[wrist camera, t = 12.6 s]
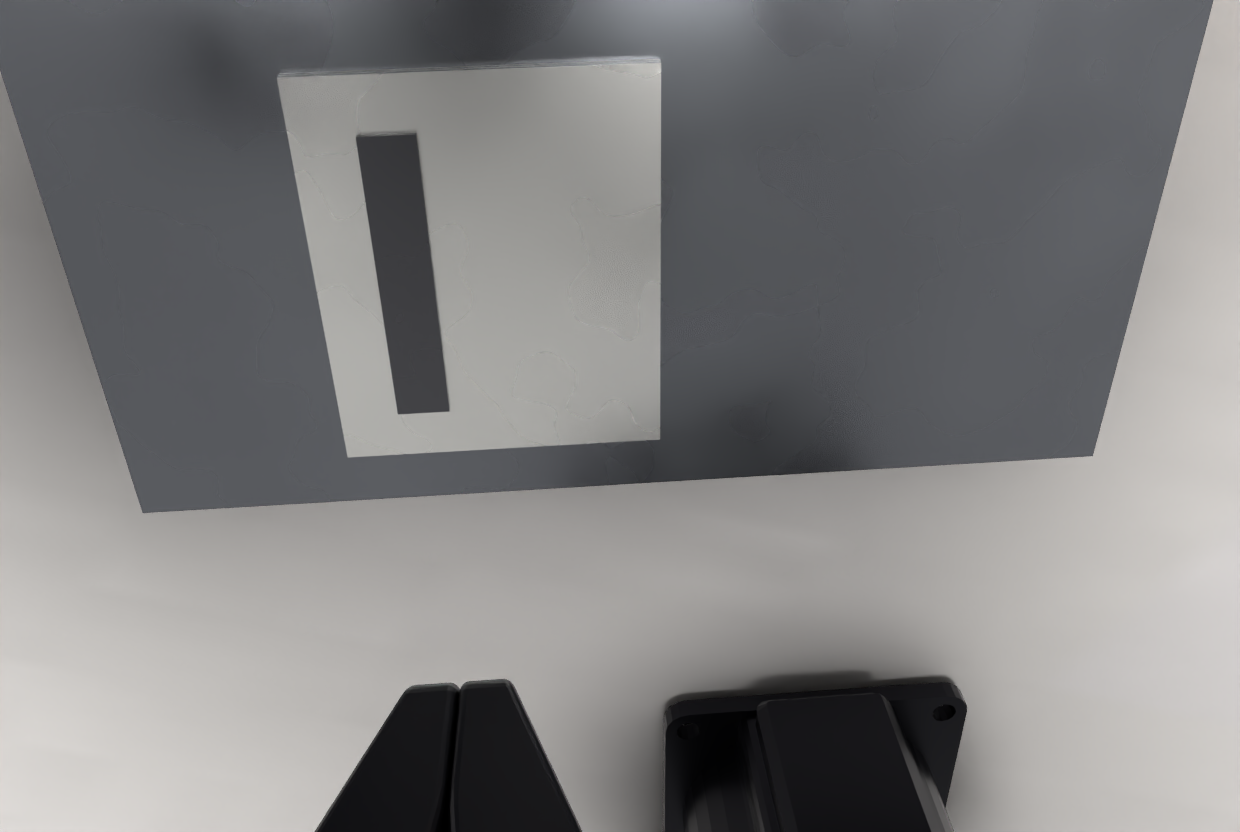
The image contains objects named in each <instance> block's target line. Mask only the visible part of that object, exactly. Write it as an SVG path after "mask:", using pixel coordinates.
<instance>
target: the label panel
mask: <svg viewBox="0 0 1240 832" xmlns="http://www.w3.org/2000/svg"><path fill="white" fill-rule="evenodd" d="M1212 4H1213V0H0V71H1V74H2V77H3V80H4V83H5V86H6V89H7V92H8V95H9V99H10V102H11V105H12V108H13V111H14V114H15V117H16V120H17V123H18V126H19V130H20V133H21V136H22V139H23V142H24V145H25V148H26V151H27V154H28V158H29V161H30V164H31V167H32V170H33V173H34V176H35V179H36V182H37V186H38V189H39V192H40V195H41V198H42V201H43V204H44V207H45V210H46V213H47V217H48V220H49V223H50V226H51V229H52V232H53V235H54V238H55V241H56V245H57V248H58V251H59V254H60V257H61V260H62V263H63V266H64V269H65V273H66V276H67V279H68V282H69V285H70V288H71V291H72V294H73V297H74V301H75V304H76V307H77V310H78V313H79V316H80V319H81V322H82V325H83V328H84V332H85V335H86V338H87V341H88V344H89V347H90V350H91V353H92V356H93V360H94V363H95V366H96V369H97V372H98V375H99V378H100V381H101V384H102V388H103V391H104V394H105V397H106V400H107V403H108V406H109V409H110V412H111V416H112V419H113V422H114V425H115V428H116V431H117V434H118V437H119V440H120V443H121V447H122V450H123V453H124V456H125V459H126V462H127V465H128V468H129V471H130V475H131V478H132V481H133V484H134V487H135V490H136V493H137V496H138V499H139V503H140V506H141V509H142V512H143V513H151V512H167V511H184V510H201V509H217V508H234V507H251V506H267V505H284V504H301V503H317V502H334V501H351V500H367V499H384V498H401V497H417V496H434V495H451V494H467V493H484V492H501V491H517V490H534V489H551V488H567V487H584V486H601V485H617V484H634V483H651V482H667V481H684V480H701V479H718V478H734V477H751V476H768V475H784V474H801V473H818V472H834V471H851V470H868V469H884V468H901V467H918V466H934V465H951V464H968V463H984V462H1001V461H1018V460H1034V459H1051V458H1068V457H1084V456H1093V453H1094V449H1095V445H1096V442H1097V438H1098V434H1099V430H1100V426H1101V423H1102V419H1103V415H1104V411H1105V408H1106V404H1107V400H1108V396H1109V393H1110V389H1111V385H1112V381H1113V377H1114V374H1115V370H1116V366H1117V362H1118V359H1119V355H1120V351H1121V347H1122V343H1123V340H1124V336H1125V332H1126V328H1127V325H1128V321H1129V317H1130V313H1131V309H1132V306H1133V302H1134V298H1135V294H1136V291H1137V287H1138V283H1139V279H1140V275H1141V272H1142V268H1143V264H1144V260H1145V257H1146V253H1147V249H1148V245H1149V241H1150V238H1151V234H1152V230H1153V226H1154V223H1155V219H1156V215H1157V211H1158V208H1159V204H1160V200H1161V196H1162V192H1163V189H1164V185H1165V181H1166V177H1167V174H1168V170H1169V166H1170V162H1171V158H1172V155H1173V151H1174V147H1175V143H1176V140H1177V136H1178V132H1179V128H1180V124H1181V121H1182V117H1183V113H1184V109H1185V106H1186V102H1187V98H1188V94H1189V90H1190V87H1191V83H1192V79H1193V75H1194V72H1195V68H1196V64H1197V60H1198V56H1199V53H1200V49H1201V45H1202V41H1203V38H1204V34H1205V30H1206V26H1207V23H1208V19H1209V15H1210V11H1211V7H1212Z"/></svg>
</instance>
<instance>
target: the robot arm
mask: <svg viewBox="0 0 1240 832" xmlns="http://www.w3.org/2000/svg"><path fill="white" fill-rule="evenodd" d="M941 705H942V706H941ZM966 713H967V705H966V703H965V701H964V698H963V696H962V694H961V692H960V690H959V689H958V688H957V686H955V685H953V684H951V683H942V682H940V683H926V684H912V685H898V686H884V687H870V688H856V689H842V690H827V691H813V692H799V693H785V694H771V695H757V696H743V697H729V698H715V699H701V700H687V701H682V702H678V703H676V704H674V705H672V706H670V707H669V708H668V710H667V711H666V712H665V714H664V718H663V832H954V830H953V828H952V825H951V823H950V820H949V817H948V815H947V812H946V810H945V807H946V802H947V798H948V793H949V789H950V784H951V780H952V775H953V771H954V767H955V762H956V758H957V753H958V749H959V744H960V740H961V735H962V731H963V726H964V722H965V717H966ZM687 723H692V724H689V725H683V724H687ZM315 832H582V830H581V828H580V826H579V823H578V821H577V819H576V817H575V815H574V813H573V811H572V809H571V806H570V804H569V802H568V800H567V798H566V796H565V794H564V791H563V789H562V787H561V785H560V783H559V781H558V779H557V776H556V774H555V772H554V770H553V768H552V766H551V764H550V761H549V759H548V757H547V755H546V753H545V751H544V749H543V747H542V744H541V742H540V740H539V738H538V736H537V734H536V732H535V729H534V727H533V725H532V723H531V721H530V719H529V717H528V714H527V712H526V710H525V708H524V706H523V704H522V702H521V700H520V697H519V695H518V693H517V691H516V689H515V687H514V685H513V684H512V683H511V682H510V681H509V680H507V679H496V680H482V681H469V682H466V683H464V684H463V685H462V687H461V689H459V687H458V686H457V685H455V684H453V683H439V684H425V685H414V686H411V687H409V688H408V689H407V690H406V691H405V692H404V693H403V694H402V696H401V697H400V699H399V700H398V702H397V704H396V705H395V707H394V708H393V710H392V711H391V713H390V714H389V716H388V718H387V719H386V721H385V722H384V724H383V725H382V727H381V729H380V730H379V732H378V733H377V735H376V736H375V738H374V740H373V741H372V743H371V744H370V746H369V747H368V749H367V750H366V752H365V754H364V755H363V757H362V758H361V760H360V761H359V763H358V765H357V766H356V768H355V769H354V771H353V772H352V774H351V776H350V777H349V779H348V780H347V782H346V783H345V785H344V786H343V788H342V790H341V791H340V793H339V794H338V796H337V797H336V799H335V801H334V802H333V804H332V805H331V807H330V808H329V810H328V812H327V813H326V815H325V816H324V818H323V819H322V821H321V822H320V824H319V826H318V827H317V829H316V830H315Z"/></svg>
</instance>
